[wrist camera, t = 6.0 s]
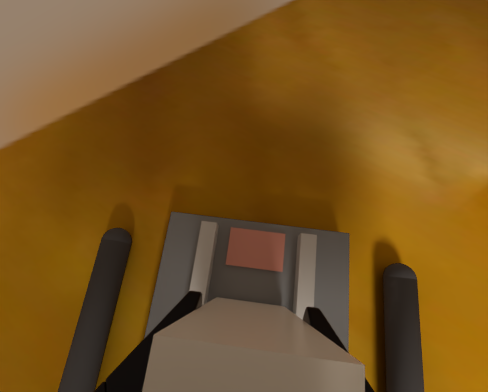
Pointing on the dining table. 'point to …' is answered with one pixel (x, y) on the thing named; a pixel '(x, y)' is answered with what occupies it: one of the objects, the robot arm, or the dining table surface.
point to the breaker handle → (248, 353)
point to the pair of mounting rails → (108, 286)
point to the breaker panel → (254, 267)
